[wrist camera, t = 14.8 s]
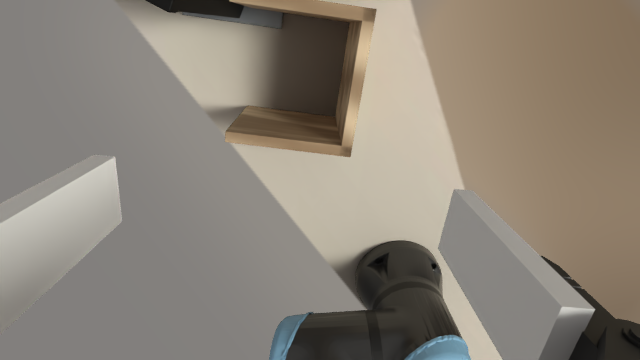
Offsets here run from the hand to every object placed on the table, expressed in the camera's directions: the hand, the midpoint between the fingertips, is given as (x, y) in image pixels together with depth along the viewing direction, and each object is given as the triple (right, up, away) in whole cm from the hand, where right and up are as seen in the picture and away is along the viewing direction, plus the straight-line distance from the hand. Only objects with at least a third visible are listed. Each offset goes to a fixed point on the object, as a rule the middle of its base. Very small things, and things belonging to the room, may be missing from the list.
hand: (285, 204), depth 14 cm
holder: (-2, +17, +36) cm, 40 cm away
